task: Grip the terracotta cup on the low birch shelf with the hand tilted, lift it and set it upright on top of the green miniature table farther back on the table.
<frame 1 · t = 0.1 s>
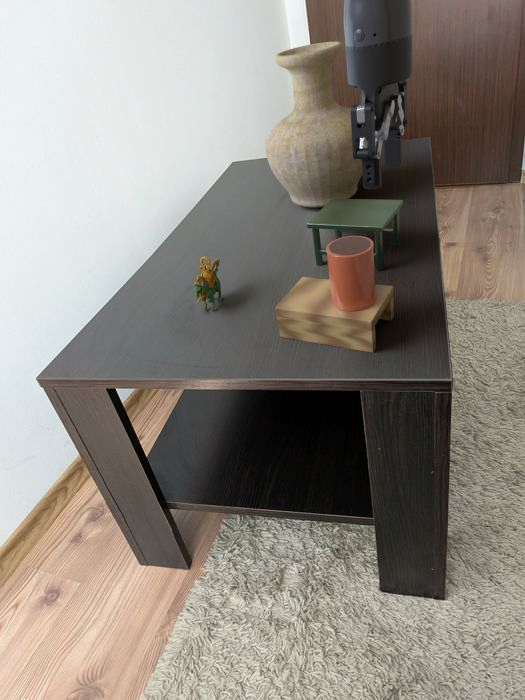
hand: (383, 176, 68), 18 cm above the table, tool pointing down, fingers open, 8 cm apart
green miniature table: (358, 254, 91), on the table
figurine: (215, 302, 86), on the table
cup: (354, 299, 69), point 5 cm above the table, touching shelf
vase: (324, 201, 115), on the table
shelf: (336, 326, 74), on the table
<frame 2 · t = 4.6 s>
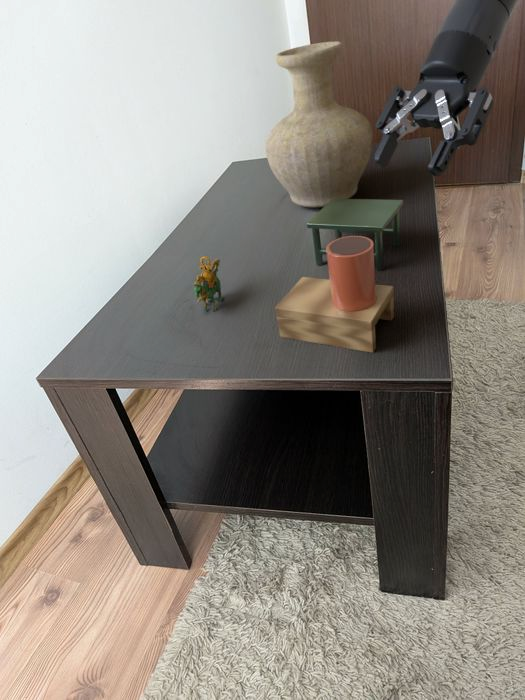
hand: (405, 168, 66), 19 cm above the table, tool tilted 45°, fingers open, 8 cm apart
nothing on the table moved.
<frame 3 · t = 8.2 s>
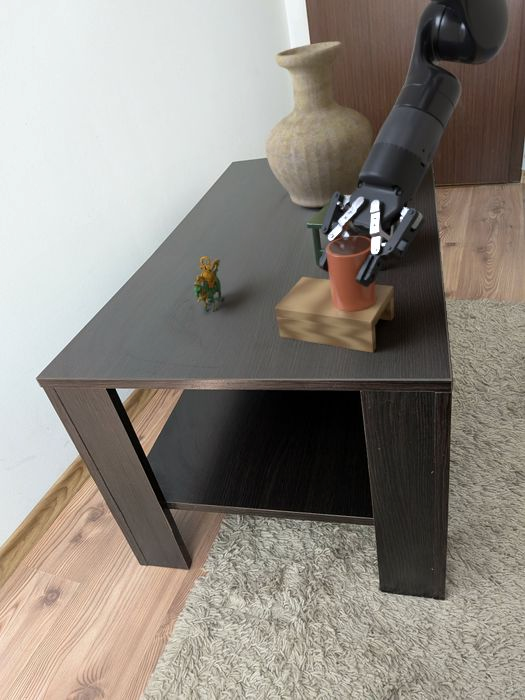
hand: (342, 276, 66), 9 cm above the table, tool tilted 45°, fingers closed on cup, 6 cm apart
cup: (354, 299, 69), point 5 cm above the table, touching gripper, shelf
everything else where it was.
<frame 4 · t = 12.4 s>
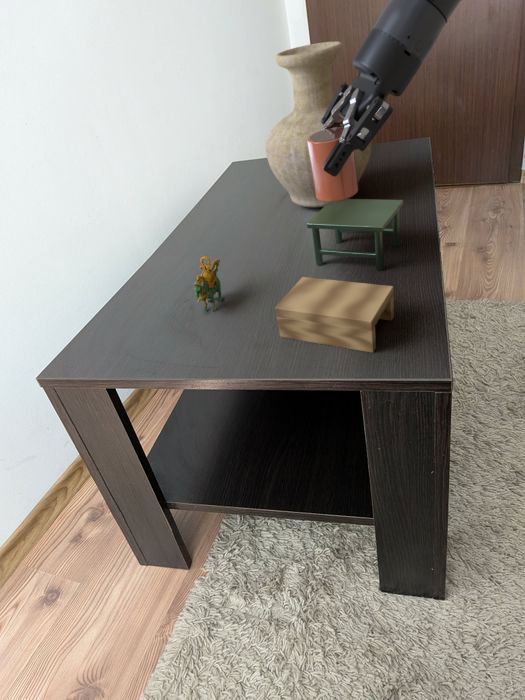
hand: (321, 165, 70), 20 cm above the table, tool tilted 40°, fingers closed on cup, 6 cm apart
cup: (337, 192, 72), point 16 cm above the table, touching gripper
everything else where it was.
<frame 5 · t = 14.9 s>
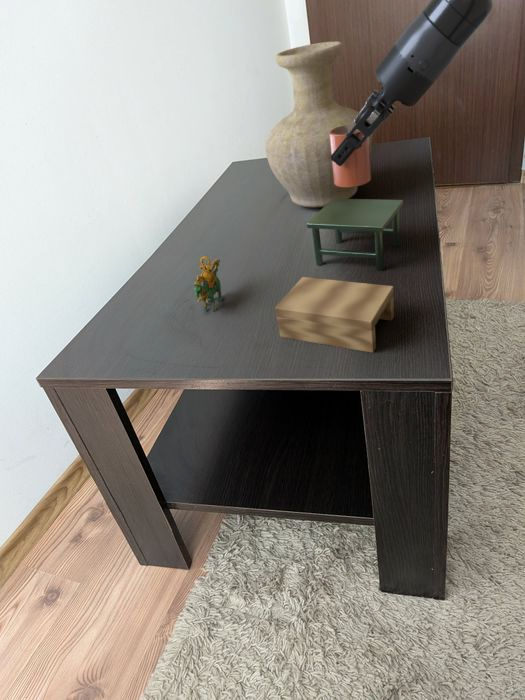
hand: (340, 154, 81), 18 cm above the table, tool tilted 45°, fingers closed on cup, 6 cm apart
cup: (352, 180, 83), point 13 cm above the table, touching gripper
everything else where it was.
when the fingers open (12 cm above the table, at t = 16.9 s): cup stays where it is, resting on green miniature table.
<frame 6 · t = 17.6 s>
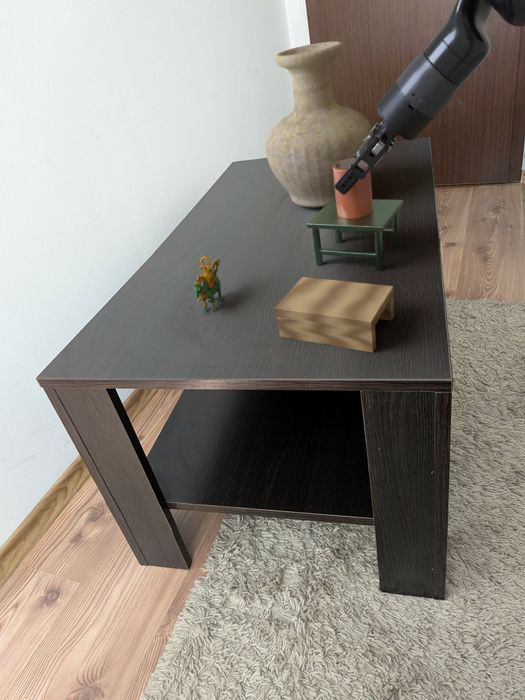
hand: (345, 181, 83), 13 cm above the table, tool tilted 45°, fingers open, 8 cm apart
cup: (355, 211, 86), point 8 cm above the table, touching green miniature table
everything else where it was.
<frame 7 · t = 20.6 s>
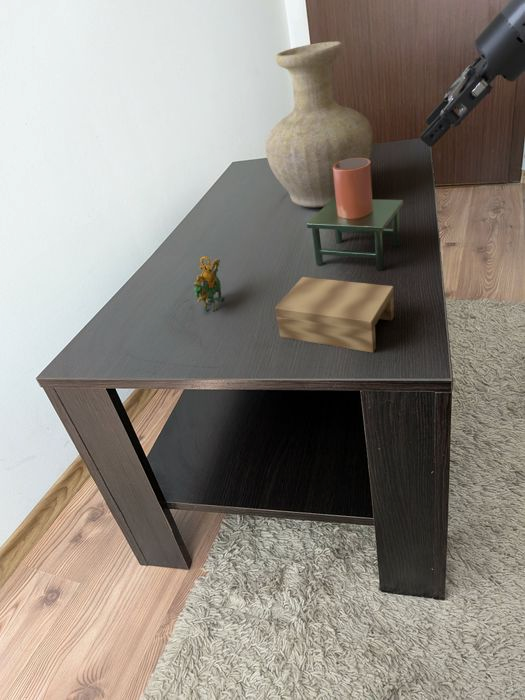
hand: (427, 133, 75), 20 cm above the table, tool tilted 45°, fingers open, 8 cm apart
nothing on the table moved.
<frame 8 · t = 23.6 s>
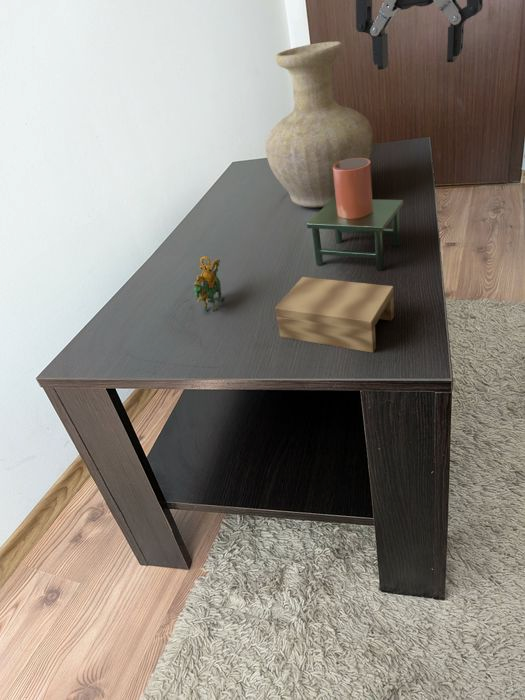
hand: (416, 64, 63), 30 cm above the table, tool pointing down, fingers open, 8 cm apart
nothing on the table moved.
at the end: cup inside the target area on the green miniature table (0.0 cm from its centre), point 8.0 cm above the green miniature table's base; cup tilted 0°; the gripper is holding nothing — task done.
